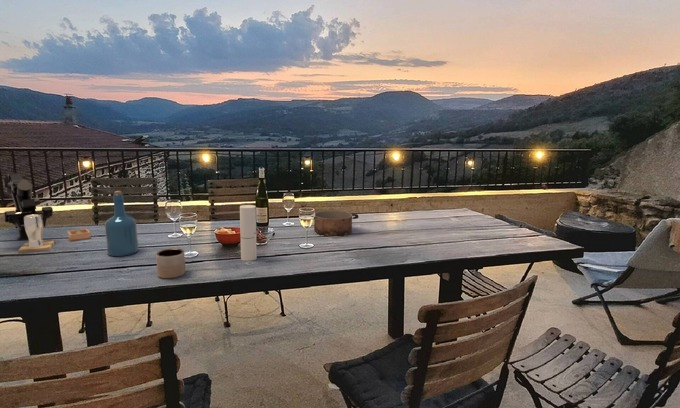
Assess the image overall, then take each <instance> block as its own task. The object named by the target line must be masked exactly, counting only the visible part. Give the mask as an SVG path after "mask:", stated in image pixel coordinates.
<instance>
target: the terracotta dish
mask: <svg viewBox="0 0 680 408" xmlns="http://www.w3.org/2000/svg"><path fill="white" fill-rule="evenodd" d="M78 231H81V232H82V233H79V234H76V232H78ZM66 233H67V239H68V240H69V241H70V242H78V241H83V240H89V239H92V237H91V232H90V230H89V229H88V228H82V229H75V230H74V229H73V230H67V232H66Z"/></svg>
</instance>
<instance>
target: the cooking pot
mask: <svg viewBox="0 0 680 408" xmlns="http://www.w3.org/2000/svg"><path fill="white" fill-rule="evenodd" d="M314 214H315V217H314V216H313V217H314V219H313V220H314V221H313V222H314V224H313V227H314V230H313V231H315V232H316V233H317V234H316V233H315V232H314V233H315V234H316V235H318V234H319V236H321V235H324V236H323V237H328V236H341V237H345V236H344V235H346V236H349V235H350V234H352V231H353V230H352V229H353V226H352V225H353V220H355V219H359V215H358V214H357V213H350V211H349V212H348V211H343V210H332V209H331V210H330V209H329V210H321V211H317V212H315V213H314ZM348 234H349V235H348Z"/></svg>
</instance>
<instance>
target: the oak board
mask: <svg viewBox="0 0 680 408" xmlns="http://www.w3.org/2000/svg"><path fill="white" fill-rule="evenodd" d="M24 242H25V243H23V245H21V247H20V248H18V250H17V251H18V254H25V253H35V252H36V253H37V252H45V251H46V252H47V251H51V249H52V248H53V247H54V245H55V244H56V239H45V240H43V242H44V245H43V246H40V247H33V248H32V247H29V241H24Z"/></svg>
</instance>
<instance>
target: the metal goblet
mask: <svg viewBox="0 0 680 408" xmlns="http://www.w3.org/2000/svg"><path fill="white" fill-rule="evenodd" d="M24 227H25V231H26V233H27V236H28V239H27V240H28V242H29V247H32V248H33V247H40V246H43V245H44V242H43V228H44V225H43V220H42V214H32V215H26V216H24Z"/></svg>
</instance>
